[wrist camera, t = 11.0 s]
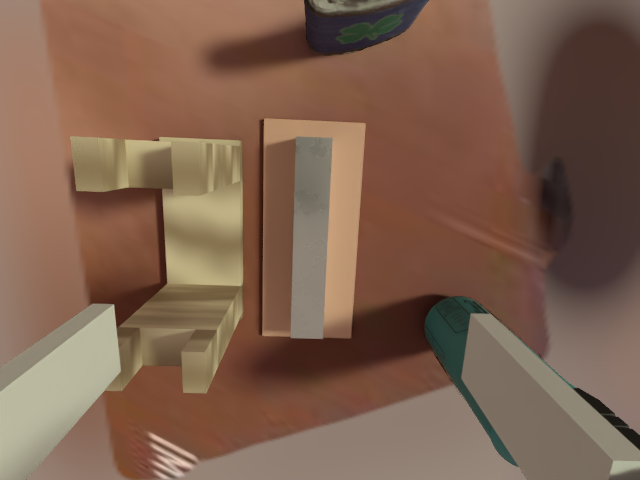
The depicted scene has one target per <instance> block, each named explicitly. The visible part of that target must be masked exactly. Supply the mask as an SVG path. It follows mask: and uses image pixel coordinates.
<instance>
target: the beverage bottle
mask: <svg viewBox="0 0 640 480" xmlns="http://www.w3.org/2000/svg"><path fill="white" fill-rule="evenodd" d="M477 302H478V301H477ZM477 302H476V301H475V300H473V299H470V298H466V297H464V296H454V297H449V298H446V299H443V300H441V301H440V302H438V303H437V304H436V305H434V306H433V307H432V309H431V310H430V311H429V313H428V315H427V317H426V320H425V326H424V328H425V334H424V335H425V336H426V338H427V340H428V342H429V344H430V345H431V347H432V349H433V350H434V351H432V352H435V356H436V355H437V356H436V358H437V357H438V358H439V359H438V358H437V360H438V361H439V360H440V361H441V362H440V361H439V362H440V364H441V366H442V364H443V366H444V367H443V366H442V368H443V369H444V368H445V369H446V370H445V369H444V370H445V372H446V371H447V373H448V374H449V375H450V377H451V378H450V379H451V380H452V382H454V383H455V385H456V387H457V388H458V390H459V391H460V393H461V394H462V395H463V397H464V398H465V400H466V401H467V403H468V404H469V406H470V407H471V409H472V411H473V412H474V414H475V415H476V417H477V418H478V420H479V422H480V423H481V424H482V426H483V428H484V429H485V431H486V432H487V434H488V435H489V437H490V439H491V441H492V443H493V445H494V447H495V449H496V450H497V452H498V453H499V454H500V455H501V456H502V457H503V458H504V459H505V460H507V461H508V462H509V463H511V464H513V465H515V466H517V467H518V465H517V464H516V462H515V460H514V459H513V457H512V456H511V454H510V453H509V451H508V450H507V448H506V447H505V445H504V444H503V442H502V440H501V439H500V437H499V436H498V434H497V433H496V431H495V430H494V428H493V427H492V425H491V424H490V422H489V420H488V419H487V417H486V416H485V414H484V413H483V411H482V410H481V408H480V407H479V405H478V404H477V402H476V400H475V399H474V397H473V396H472V394H471V393H470V391H469V390H468V388H467V387H466V385H465V384H464V382H463V380H462V379H461V377H462V370H463V363H464V356H465V349H466V342H467V336H468V329H469V322H470V315H471V313H472V314H490V313H489V312H488V311H487V310H486V309H484V308H483V307H482V305H481V304H480V303H477ZM483 306H484V305H483ZM484 307H485V306H484ZM490 312H491V311H490ZM491 314H492V313H491ZM492 315H493V314H492ZM493 316H494V315H493ZM494 317H495V316H494ZM495 318H496V317H495ZM497 318H498V317H497ZM497 318H496V319H497ZM497 320H498V319H497ZM498 321H499V320H498ZM499 322H500V321H499ZM500 323H501V322H500ZM502 323H503V322H502ZM502 323H501V324H502ZM502 325H503V324H502ZM504 326H505V325H504ZM506 326H507V325H506ZM508 330H509V331H510V329H508ZM511 331H513V330H512V329H511ZM511 331H510V332H511ZM513 332H514V331H513ZM511 333H512V332H511ZM512 334H513V333H512ZM513 335H514V334H513ZM514 336H515V335H514ZM518 336H519V335H518ZM516 337H517V336H516ZM517 338H518V337H517ZM518 339H519V338H518ZM519 340H520V339H519ZM520 341H521V340H520ZM426 342H427V341H426ZM521 342H522V341H521ZM522 343H523V342H522ZM427 344H428V343H427ZM523 344H524V345H525V346H526V347H528V346H527V345H526V344H525V343H523ZM528 348H529V347H528ZM529 349H530V348H529ZM530 350H531V349H530ZM531 351H532V352H533V353H534V354H535V355H536V356H537V357H538V358H539V359H541V358H540V357H539V356H538V355H537V354H536V353H535V352H534V351H533V350H531ZM539 355H540V354H539ZM541 360H542V359H541ZM542 361H543V360H542ZM543 362H544V361H543ZM544 363H545V362H544ZM545 364H546V365H547V366H548V367H549V368H550V369H551V370H553V369H552V368H551V367H550V366H549V365H548V364H547V363H545ZM553 371H554V372H555V370H553ZM555 373H556V374H557V375H558V376H559V377H560V378H561V379H562V380H563V381H565V382H566V383H567V384H568V385H569V386H570V387H571V388H575V387H574V386H573V385H571V384H569V383H568V382H567V381H566V380H565V379H563V378H562V377H561V376H560V375H559V374H558V373H557V372H555ZM449 375H447V376H449Z"/></svg>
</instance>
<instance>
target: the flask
mask: <svg viewBox="0 0 640 480" xmlns="http://www.w3.org/2000/svg"><path fill="white" fill-rule="evenodd" d="M428 1H429V0H304V3H305V17H306V23H305V25H306V39H307V42H308V44H309V47H310V49H311V50H312V52H313V53H316V54H318V55H321V54H322V55H329V56H330V55H335V54H338V55H339V54H340V55H341V54H344V53H352V52H355V51H361V50H363V49H364V48H367V47H371V46H373V45H376V44H379V43H382V42H383V41H388V40H390V39H392V38H393V37H396V36H398V35H400V34H401V33H403V32H405V31H406V30H407V29H408V28H409V27H410V26H411V25H412V23H413V22H414V20H415V19H416V17H417V16H418V14H419V13H420V11H421V10H422V8H423V7H424V6H425V5H426V3H427V2H428Z"/></svg>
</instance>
